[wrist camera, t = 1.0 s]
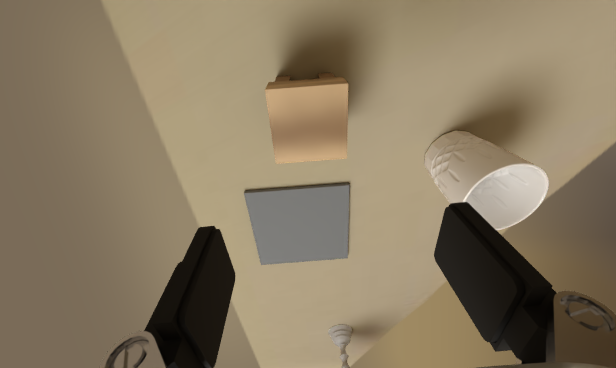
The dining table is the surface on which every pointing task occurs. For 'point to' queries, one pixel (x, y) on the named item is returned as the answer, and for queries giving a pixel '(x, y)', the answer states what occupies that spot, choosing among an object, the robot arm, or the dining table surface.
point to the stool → (308, 118)
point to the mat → (300, 222)
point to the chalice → (341, 340)
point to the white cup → (486, 178)
